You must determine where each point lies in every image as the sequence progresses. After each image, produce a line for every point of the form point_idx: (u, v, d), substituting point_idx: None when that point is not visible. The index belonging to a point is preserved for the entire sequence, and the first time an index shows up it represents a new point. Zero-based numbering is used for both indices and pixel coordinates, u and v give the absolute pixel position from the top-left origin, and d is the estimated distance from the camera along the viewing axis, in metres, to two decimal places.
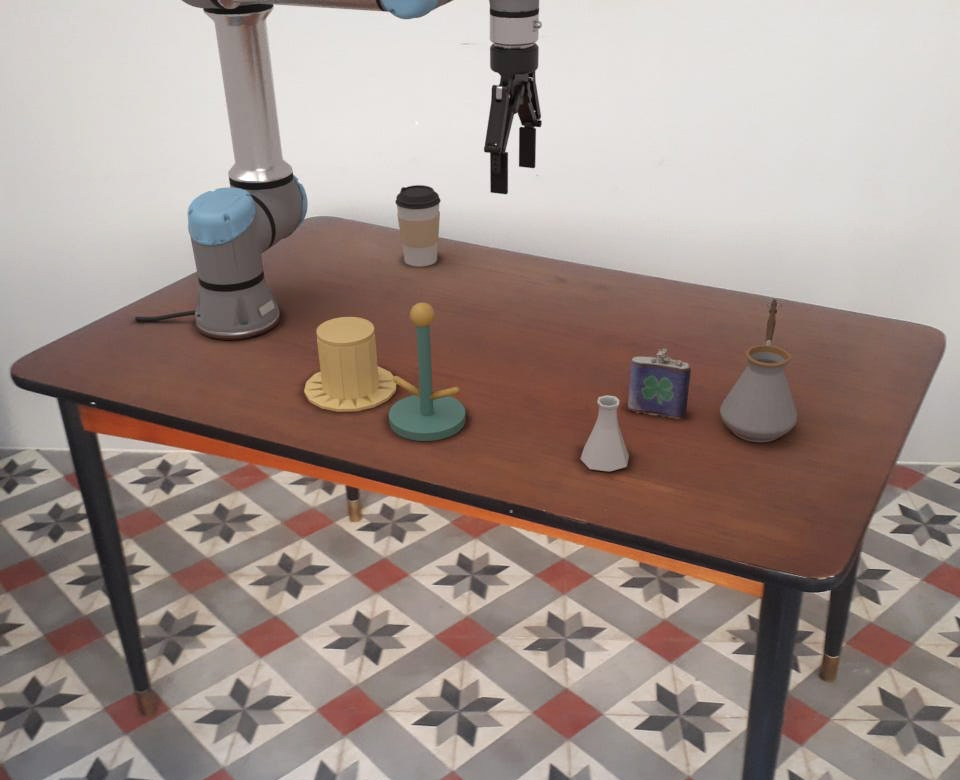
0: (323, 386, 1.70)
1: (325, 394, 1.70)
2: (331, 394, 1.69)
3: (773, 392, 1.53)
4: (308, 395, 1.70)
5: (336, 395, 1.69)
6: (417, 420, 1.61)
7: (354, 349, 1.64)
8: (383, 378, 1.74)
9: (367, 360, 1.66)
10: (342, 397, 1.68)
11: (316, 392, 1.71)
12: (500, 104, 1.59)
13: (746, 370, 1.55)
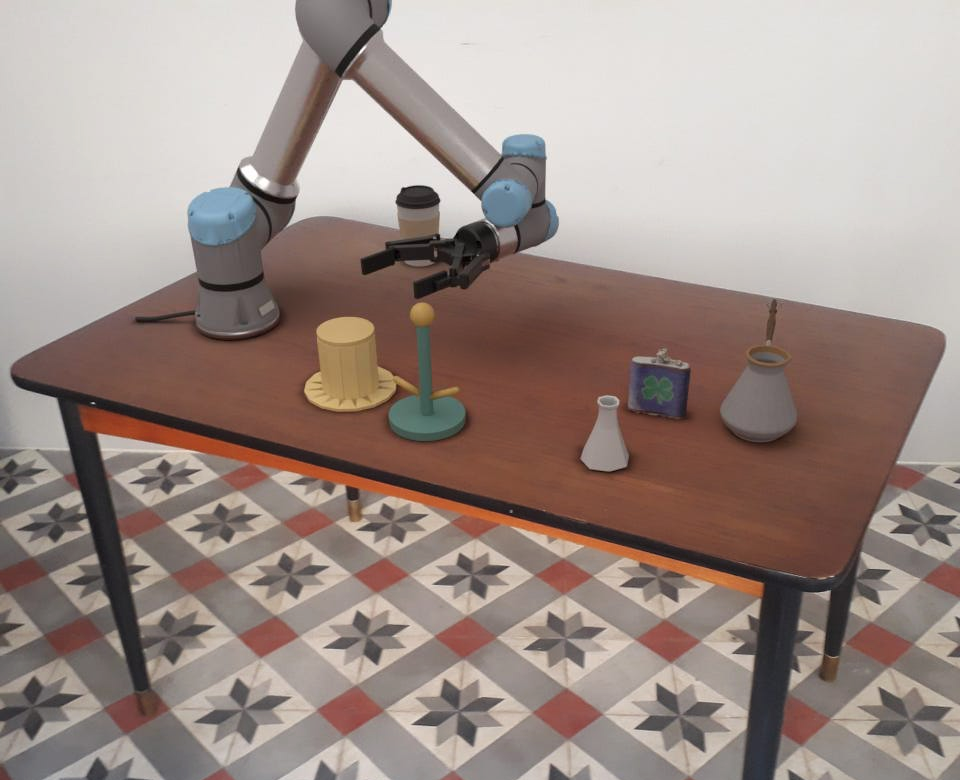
0: (323, 386, 1.70)
1: (325, 394, 1.70)
2: (331, 394, 1.69)
3: (773, 392, 1.53)
4: (308, 395, 1.70)
5: (336, 395, 1.69)
6: (417, 420, 1.61)
7: (354, 349, 1.64)
8: (383, 378, 1.74)
9: (367, 360, 1.66)
10: (342, 397, 1.68)
11: (316, 392, 1.71)
12: (481, 268, 1.72)
13: (746, 370, 1.55)
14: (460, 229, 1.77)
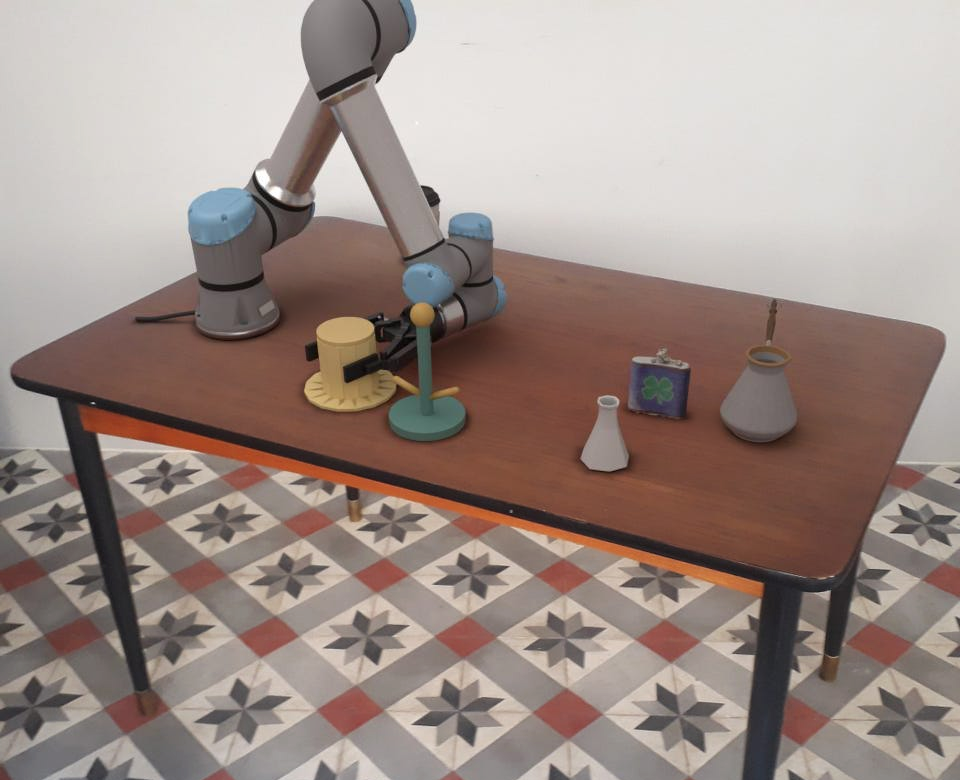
0: (323, 386, 1.70)
1: (325, 394, 1.70)
2: (331, 394, 1.69)
3: (773, 392, 1.53)
4: (308, 395, 1.70)
5: (336, 395, 1.69)
6: (417, 420, 1.61)
7: (354, 349, 1.64)
8: (383, 378, 1.74)
9: None
10: (342, 397, 1.68)
11: (316, 392, 1.71)
12: None
13: (746, 370, 1.55)
14: (406, 308, 1.77)
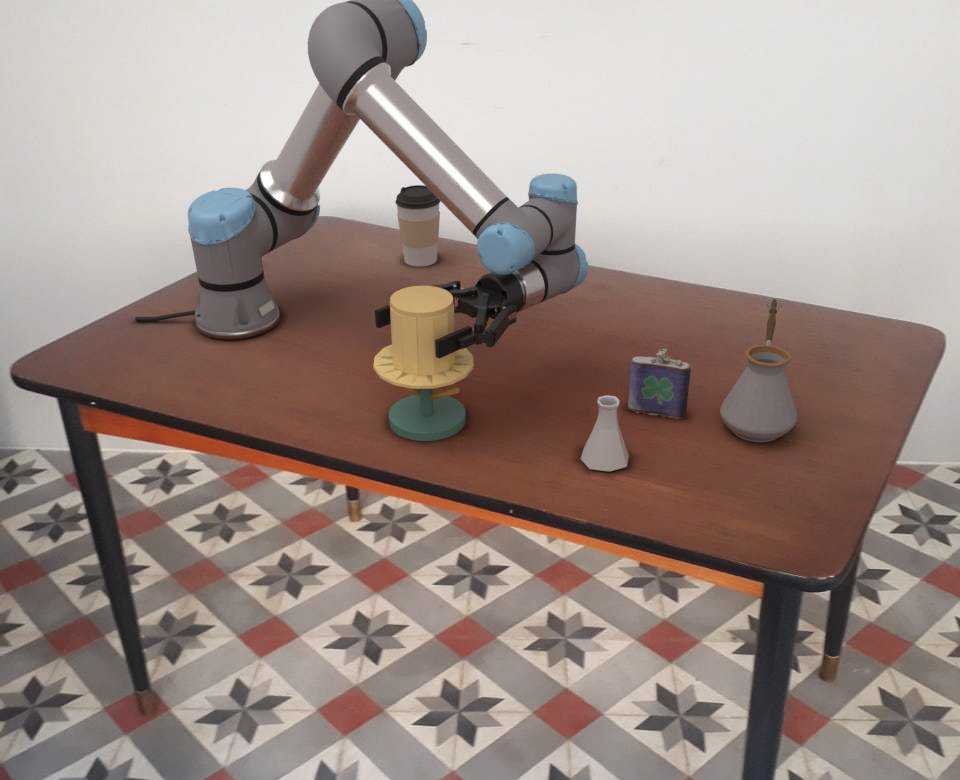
0: (394, 361, 1.56)
1: (397, 370, 1.55)
2: (404, 370, 1.54)
3: (773, 392, 1.53)
4: (378, 370, 1.55)
5: (409, 371, 1.54)
6: (417, 420, 1.61)
7: (432, 320, 1.49)
8: (458, 354, 1.60)
9: (445, 332, 1.52)
10: (416, 373, 1.54)
11: (387, 367, 1.56)
12: (508, 321, 1.57)
13: (746, 370, 1.55)
14: (483, 277, 1.62)
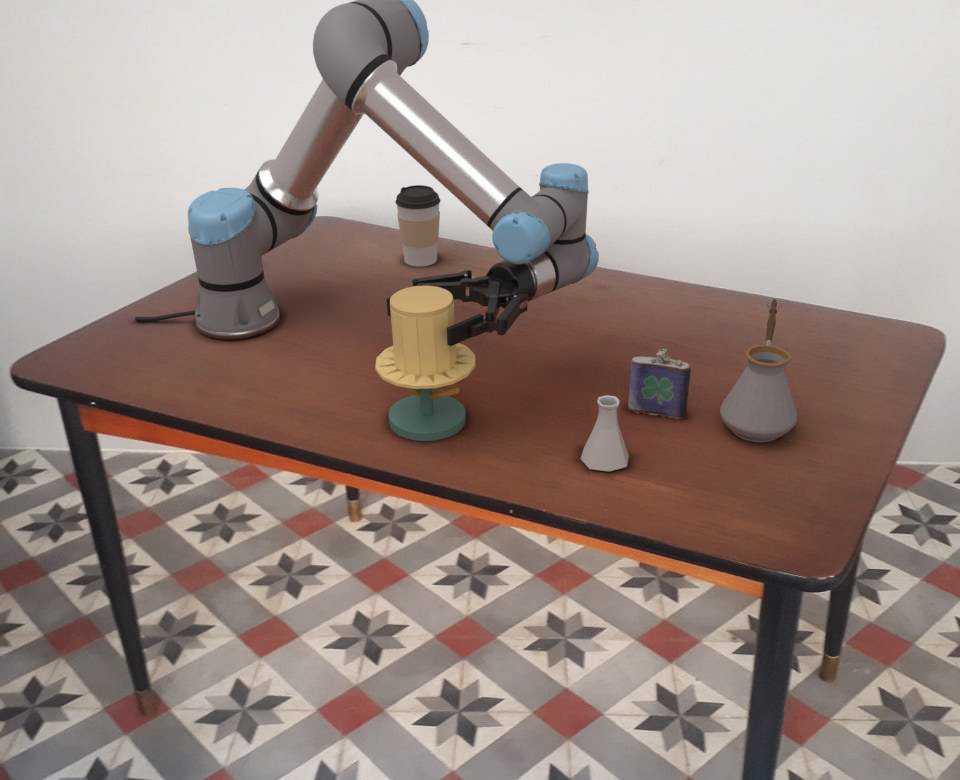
0: (396, 362, 1.56)
1: (399, 370, 1.56)
2: (406, 370, 1.54)
3: (773, 392, 1.53)
4: (380, 372, 1.55)
5: (411, 371, 1.54)
6: (417, 420, 1.61)
7: (433, 320, 1.49)
8: (460, 353, 1.60)
9: (446, 331, 1.52)
10: (418, 373, 1.54)
11: (389, 368, 1.56)
12: (519, 310, 1.57)
13: (746, 370, 1.55)
14: (494, 266, 1.63)
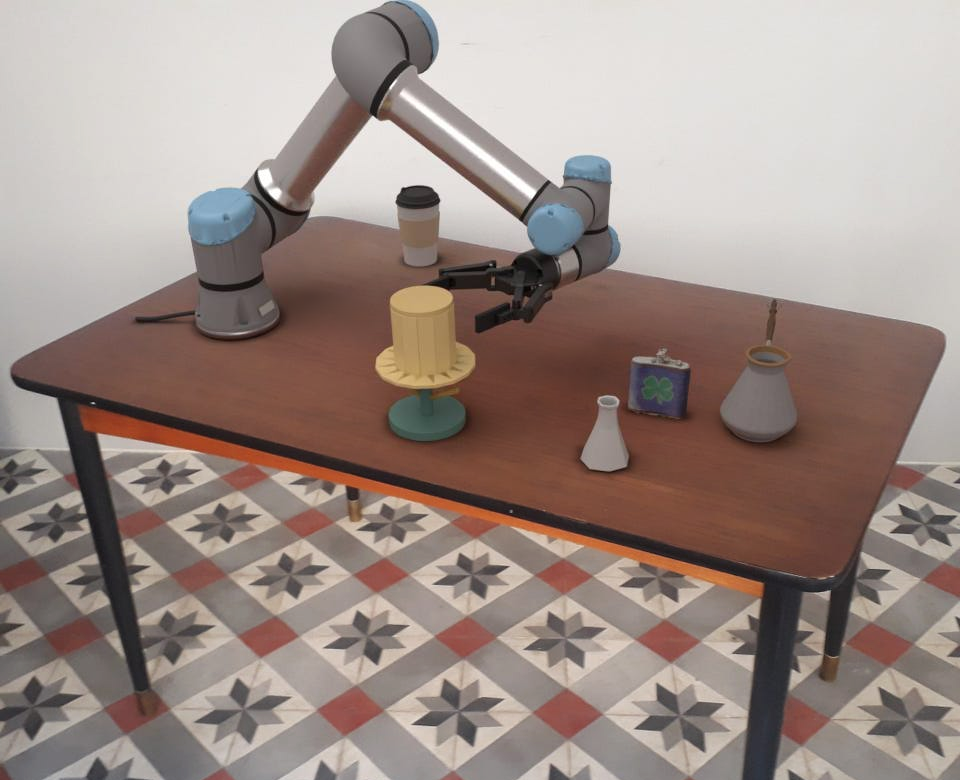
0: (396, 362, 1.56)
1: (399, 370, 1.56)
2: (406, 370, 1.54)
3: (773, 392, 1.53)
4: (380, 372, 1.55)
5: (411, 371, 1.54)
6: (417, 420, 1.61)
7: (433, 319, 1.49)
8: (460, 353, 1.60)
9: (446, 331, 1.52)
10: (418, 373, 1.54)
11: (389, 368, 1.56)
12: (544, 299, 1.60)
13: (746, 370, 1.55)
14: (519, 256, 1.66)
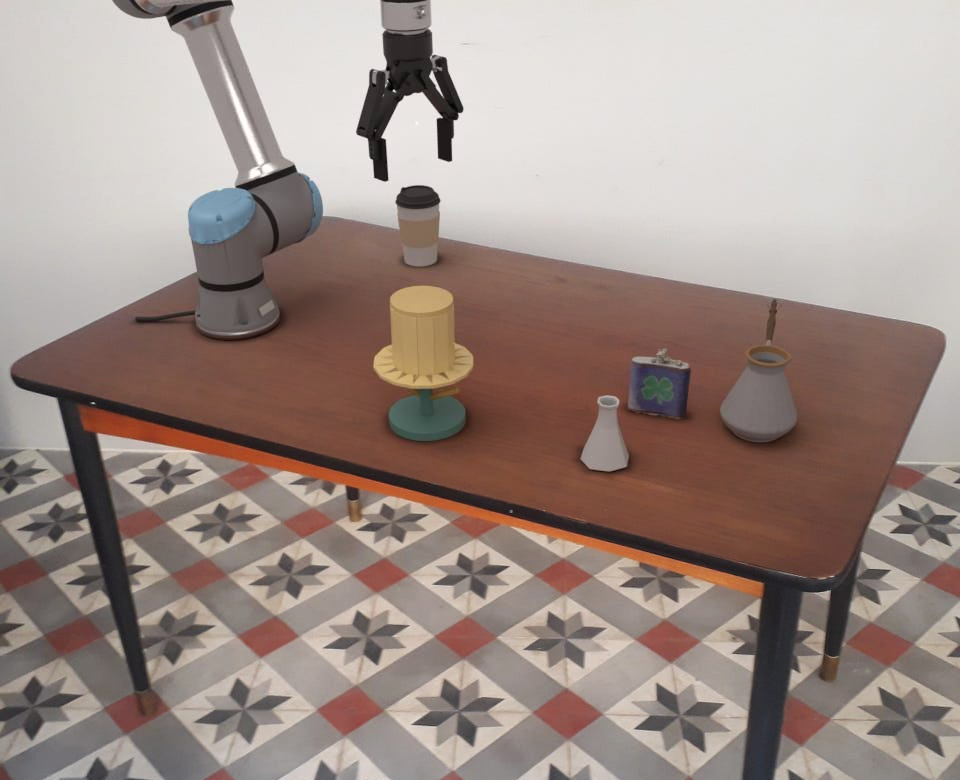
0: (394, 361, 1.56)
1: (397, 370, 1.55)
2: (404, 370, 1.54)
3: (773, 392, 1.53)
4: (378, 370, 1.55)
5: (409, 371, 1.54)
6: (417, 420, 1.61)
7: (432, 320, 1.49)
8: (458, 354, 1.60)
9: (445, 332, 1.52)
10: (416, 373, 1.54)
11: (387, 367, 1.56)
12: (374, 89, 1.57)
13: (746, 370, 1.55)
14: None
